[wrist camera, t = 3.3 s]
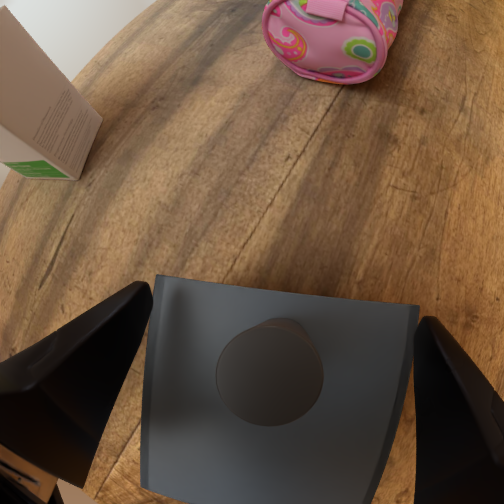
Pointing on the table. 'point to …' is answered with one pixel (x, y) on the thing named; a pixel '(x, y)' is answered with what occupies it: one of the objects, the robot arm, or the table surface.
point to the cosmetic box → (40, 110)
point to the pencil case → (332, 36)
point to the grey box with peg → (270, 394)
